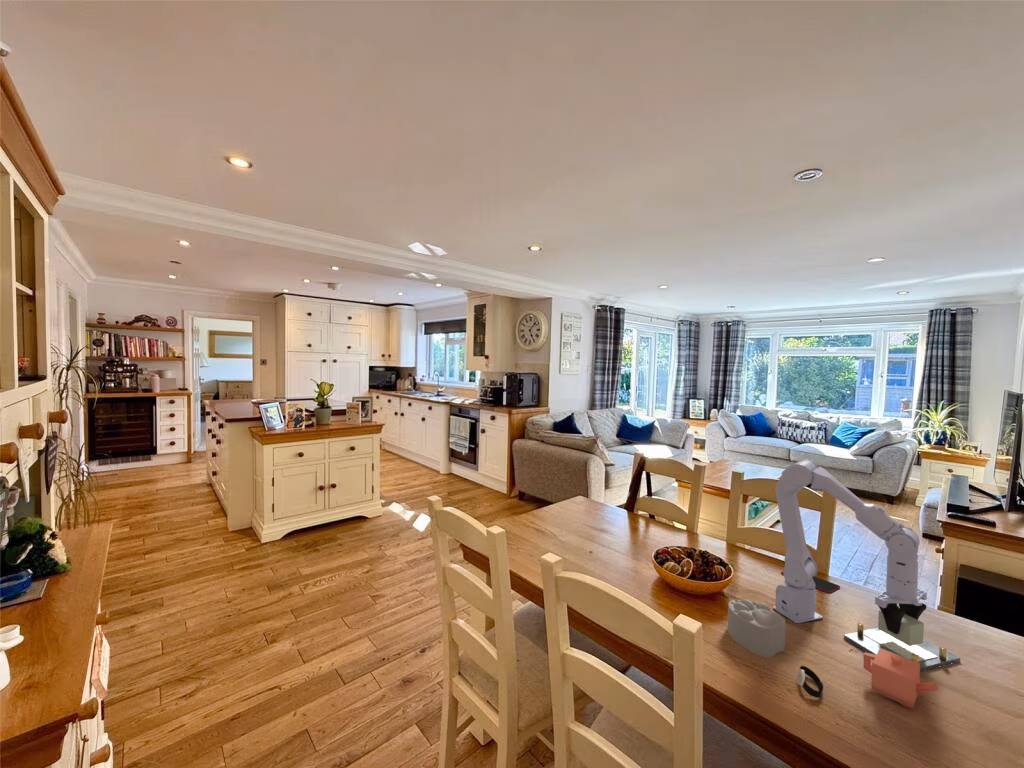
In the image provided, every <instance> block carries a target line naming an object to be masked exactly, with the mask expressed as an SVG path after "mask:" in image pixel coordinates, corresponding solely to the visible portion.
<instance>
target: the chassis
mask: <svg viewBox="0 0 1024 768" xmlns="http://www.w3.org/2000/svg"><path fill="white" fill-rule="evenodd" d="M843 639H845V640H846V641H847V642H849V643H851V644H852V645H854V646H856V648H859V649H861V650H862V651H863V652H864V653H865V652H867V653H870V654H874V655H877V653H878V651H879V649H880V648H882V649H884V650H887V651H889V652H892V653H895V654H897V655H900V656H902V657H905V658H907V659H910V660H913V661H915V662H918V663H920V673H922V672H925V671H924V670H926V671H928V669H930V670H933V669H932V668H934V669H937V668H936V667H938V668H940V667H939V666H942V667H944V666H943V665H946V666H949V665H948V664H950V665H952V664H951V663H954V664H957V663H956V662H958V663H960V662H961V657H959V656H957V655H956V654H954V653H952V652H950V651H949V650H947V648H946V647H943V646H939V645H936V644H934V643H933V642H931V641H929V640H927V639H925V638H923V643H921V644H917V645H913V646H908V645H906V644H905V643H903V642H901V641H899V640H897V639H896V638H894V637H892V636H890V635H888V634H887V633H885V632H883V631H881V630H879V629H878V626H877V627H873V628H869V629H865V630H864V624H863V623H859V622H858V623H857V630H856V631H854V632H850V633H845V634H843ZM921 671H922V672H921Z"/></svg>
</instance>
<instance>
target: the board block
mask: <svg viewBox="0 0 1024 768" xmlns="http://www.w3.org/2000/svg"><path fill="white" fill-rule="evenodd" d="M877 624H878V625H877V627H878V629H879V630H881V631H883V632H885V633H887V634H888V635H890V636H892V637H894V638H896V639H897V640H899V641H901V642H903V643H905V644H906V645H908V646H913V645H917V644H921V643H923V639H924V632H925V631H924V628H925V627H924V626H925V624H924V622H922V621H920V620H919V619H918V620H916V619H914V618H912V617H910V616H908V615H906V614H904V616H903V618H902V620H901V625H900V631H899V633H898V634H894V633H892V632H891V631H889V630H887V626H886V623H885V619H884V616H883V614H882V612H881V610H880V609H879V610H878V622H877Z"/></svg>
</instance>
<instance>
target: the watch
mask: <svg viewBox="0 0 1024 768" xmlns="http://www.w3.org/2000/svg"><path fill="white" fill-rule="evenodd" d="M806 675H807V676H808V677H809V678H810V679H811V680H813V682H815V684H816V685H817V688H818V690H816V689H814V688H812V687H811V686H810V685H809V684H808V683H807V681H806ZM796 682H797V684H798V685H799V686H800V687H802V688H803V690H804V691H805V692H806V693H807V694H809V695H810V696H812V697H814V698H821V696H822V693H823V691H824V684H823V682H822V681H821V679H820V678H819V676H818V675H817V674H816V673H815V672H814V671H813V670H812V669H810V668H809V667H807V666H805V665H800V667H799V669H798V671H797V674H796Z"/></svg>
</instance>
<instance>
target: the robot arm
mask: <svg viewBox="0 0 1024 768" xmlns="http://www.w3.org/2000/svg"><path fill="white" fill-rule="evenodd" d="M778 479H779V480H778V481H777V483H776V485H775V486H774V489H775V490H774V492H775V496H776V497H775V498H776V501H777V502H776V503H777V508H778V511H779V512H778V514H779V517H780V518H779V519H780V522H781V523H780V524H781V529H782V535H783V538H784V544H785V545H784V546H785V555H784V568H783V571H782V572H783V574H784V575H783V577H784V581H783V583H780V584H778V585H777V586H776V588H775V605H772V609H774V610H775V611H777V613H778V612H779V613H780V615H781V614H782V615H783V616H784V617H786V618H788V619H789V620H790V621H792V622H793V623H795V624H800V623H801V624H802V623H805V622H810V621H811V622H812V621H816V620H822V619H823V615H822V614H819V613H818V612H816V588H815V583H814V580H813V576H815V577H816V575H817V573H818V566H817V563H816V562H815V560H813V558H812V554H811V553H812V552H811V551H810V550H809V549H808V547H807V542H806V538H805V531H804V527H803V526H804V525H803V521H802V516H801V511H800V506H799V500H798V495H797V493H798V492H800V490H801V489H802V488H804V487H807V486H809V485H810V489H813V490H819V491H820V490H821V491H825V492H827V493H828V494H830V495H831V496H832V497H833V498H835V499H837V500H838V501H839V502H840V503H842V504H843V505H845V506H846V507H847V508H849V509H850V510H852V511H853V512H854V515H855V518H856V520H857V521H858V522H860V524H861V525H863V526H864V527H865V528H867V529H868V530H869V531H871V532H872V533H873V534H874V535H876V536H877V537H878V538H879V539H881V540H883V541H884V542H885V546H886V548H887V550H888V552H887V556H886V576H885V577H886V580H885V581H886V583H885V584H886V585H885V589H884V590H883V591H882V592H881V593H880V594H879V595H875V597H874V598H875V599H874V604H875V605H877V606H878V608H879V610H881V612H882V614H883V616H884V619H885V623H886V626H887V630H889V631H891V632H892V633H894V634H898V633H899V631H900V625H901V620H902V618H903V616H904V614H906V615H908V616H910V617H912V618H914V619H916V620H918V621H919V618H920V616H921V615H922V614H923V612H924V611H926V610H927V604H925V603H924V602H922V601H927V599H928V597H927V596H928V592H927V591H925V590H922V589H920V588H918V580H919V579H918V578H919V562H918V559H919V556H918V551H919V546H920V542H921V541H920V537H919V536H918V534H917V533H916V532H915V530H913V528H911V527H908V526H906V525H905V524H904V523H902V522H898V521H897V520H895V519H894V518H892V516H890V515H889V514H887V513H886V509H885V508H883V507H882V506H880V505H879V507H878V506H877V505H876V504H874V503H866V502H865V501H863V500H862V499H861V498H859V497H858V496H856V494H854V493H853V492H852V491H851V490H850V489H849V488H847V487H846V486H845V485H843V484H842V483H841V482H840V481H839V480H837V479H836V478H835V477H834V476H833V475H832V474H831V473H829V472H828V471H827V470H826V469H825V468H823V467H821V466H819V465H818V464H817V463H816V462H815V461H813V460H812V459H811V460H810V459H801V460H798V461H797V462H795V463H793V464H791V465H788V466H787V468H785V469H784V470H783V471H782V472H781V475H780V478H778ZM921 600H922V601H921Z"/></svg>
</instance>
